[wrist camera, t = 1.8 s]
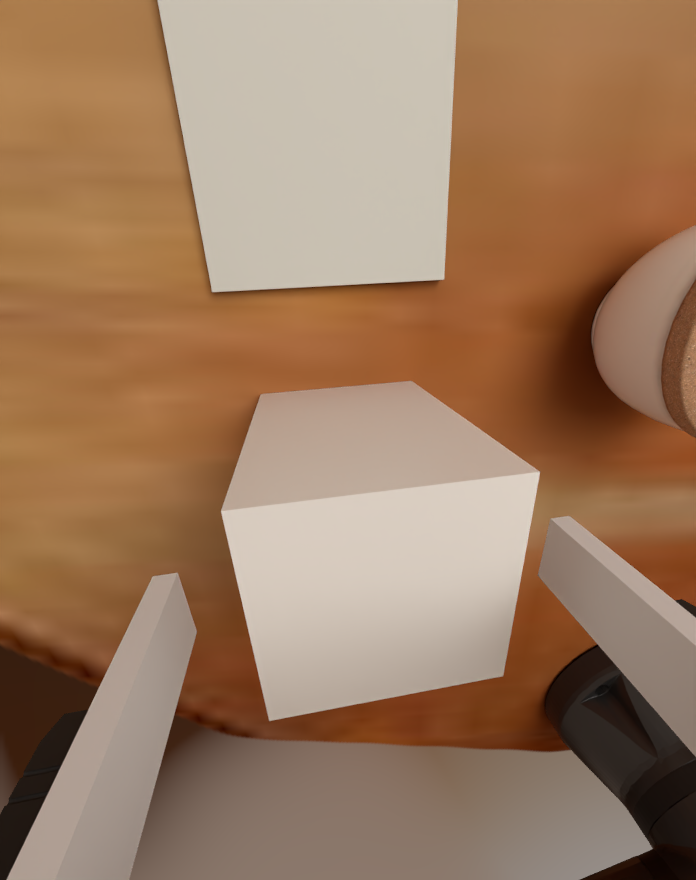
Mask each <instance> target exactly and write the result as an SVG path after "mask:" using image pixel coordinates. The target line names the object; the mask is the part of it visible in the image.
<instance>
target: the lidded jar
mask: <svg viewBox="0 0 696 880" xmlns="http://www.w3.org/2000/svg"><path fill="white" fill-rule="evenodd" d="M591 344H592V349H593V352H594V358H595V363H596V366H597V369H598V371H599V373H600V375H601V377H602V379H603V380H604V382H605V384H606V385H607V387H608V388H609V389H610V390H611V391H612V392H613V393H614V394H615V395H616V396H617V397H618V398H619V399H620V400H621V401H623V402H624V403H626V404H627V405H629V406H630V407H632V408H633V409H635V410H637V411H638V412H640V413H642V414H644V415H646V416H648V417H650V418H651V419H653V420H655V421H658V422H661V423H663V424H666V425H668V426H671V427H674V428H677V429H679V430H682V431H685V432H687V433H688V434H690V435H691V436H693V437H695V438H696V225H695V226H693V227H690V228H688V229H686V230H684V231H682V232H680V233H678V234H676V235H674V236H672V237H671V238H669V239H667V240H665V241H664V242H662V243H660V244H659V245H657V246H656V247H654V248H653V249H652V250H650V251H649V252H647V253H646V254H645V255H644V256H642V257H641V258H640V259H639V260H638V261H637V262H635V263H634V264H633V265H632V266H631V267H630V268H629V269H628V270H627V271H626V272H625V273H624V274H623V275H622V277H621V278H620V279H619V280H618V281H617V283H616V284H615V285H614V286H613V287H612V288H611V290H610V291H609V292H608V293H607V294H606V296H605V297H604V299H603V300H602V302H601V304H600V305H599V307H598V309H597V312H596V314H595V317H594V320H593V324H592V330H591Z"/></svg>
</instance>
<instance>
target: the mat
mask: <svg viewBox="0 0 696 880" xmlns="http://www.w3.org/2000/svg"><path fill="white" fill-rule="evenodd" d="M457 5H458V0H158V6H159V11H160V16H161V22H162V27H163V32H164V38H165V43H166V48H167V54H168V59H169V64H170V69H171V75H172V80H173V85H174V91H175V96H176V101H177V107H178V112H179V117H180V123H181V128H182V133H183V139H184V144H185V149H186V155H187V160H188V165H189V171H190V176H191V181H192V187H193V192H194V197H195V203H196V208H197V213H198V219H199V224H200V229H201V235H202V240H203V245H204V251H205V256H206V261H207V267H208V272H209V277H210V283H211V288H212V292H229V291H247V290H266V289H284V288H303V287H321V286H339V285H358V284H376V283H395V282H413V281H431V280H444V270H445V250H446V230H447V209H448V189H449V168H450V148H451V127H452V107H453V87H454V66H455V46H456V25H457Z"/></svg>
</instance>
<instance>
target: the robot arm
mask: <svg viewBox="0 0 696 880" xmlns="http://www.w3.org/2000/svg"><path fill="white" fill-rule="evenodd" d="M538 576H539V577H540V579H541V580H542V581H543V582H544V583H545V584H546V585H547V587H548V588H549V589H550V590H551V591H552V592H553V594H554V595H555V596H556V597H557V598H558V599H559V600H560V602H561V603H562V604H563V605H564V606H565V607H566V608H567V610H568V611H569V612H570V613H571V614H572V615H573V616H574V618H575V619H576V620H577V621H578V622H579V623H580V625H581V626H582V627H583V628H584V629H585V630H586V631H587V633H588V634H589V635H590V636H591V637H592V638H593V639H594V641H595V642H596V643H597V644H598V645H599V646H598V647H596V648H594V649H592V650H591V651H589V652H587V653H586V654H584V655H583V656H581V657H580V658H578V659H577V660H576V661H574V662H573V663H572V664H571V665H570V666H569V667H567V668H566V669H565V670H564V671H563V672H562V673H561V675H560V676H559V677H558V678H557V679H556V681H555V682H554V684H553V685H552V687H551V689H550V691H549V693H548V695H547V698H546V703H545V710H546V714H547V716H548V718H549V720H550V721H551V723H552V725H553V726H554V728H555V730H556V731H557V733H558V735H559V736H560V738H561V739H562V741H563V742H564V743H565V744H566V745H567V746H568V747H569V748H570V749H571V750H572V751H573V752H574V753H575V754H576V755H577V756H578V758H579V759H580V760H581V761H582V762H583V763H584V764H585V765H586V766H587V767H588V768H589V769H590V770H591V771H592V772H593V773H594V774H595V775H596V776H597V777H598V778H599V779H600V780H601V781H602V782H603V784H604V785H605V786H606V787H608V789H609V790H610V791H611V792H612V793H613V794H614V795H615V796H616V797H617V798H618V799H619V800H620V801H621V802H622V803H623V804H624V806H625V807H626V808H627V810H628V811H629V812H630V814H631V815H632V817H633V818H634V820H635V821H636V823H637V824H638V826H639V828H640V829H641V830H642V832H643V834H644V835H645V837H646V838H647V840H648V841H649V843H650V845H651V846H652V848H653V849H652V850H650V851H648V852H645V853H643V854H641V855H639V856H635V857H632V858H630V859H628V860H626V861H623V862H621V863H618V864H616V865H613V866H611V867H609V868H606V869H604V870H602V871H599V872H597V873H594V874H592V875H590V876H587V877H585V878H583V879H580V880H696V607H695V606H693V605H691V604H690V603H688V602H686V601H684V600H682V599H681V600H675V601H674V600H673V599H672V598H671V597H669V596H668V595H667V594H666V593H664V592H663V591H662V590H661V589H660V588H658V587H657V586H656V585H655V584H653V583H652V582H651V581H650V580H648V579H647V578H646V577H645V576H643V575H642V574H641V573H640V572H638V571H637V570H636V569H635V568H633V567H632V566H631V565H630V564H628V563H627V562H626V561H625V560H624V559H622V558H621V557H620V556H619V555H617V554H616V553H615V552H614V551H612V550H611V549H610V548H609V547H607V546H606V545H605V544H604V543H602V542H601V541H600V540H599V539H597V538H596V537H595V536H594V535H592V534H591V533H590V532H589V531H587V530H586V529H585V528H584V527H583V526H581V525H580V524H579V523H578V522H576V521H575V520H574V519H573V518H571V517H570V516H565V517H559V518H552V519H550V523H549V527H548V532H547V536H546V541H545V545H544V550H543V554H542V559H541V564H540V568H539V573H538ZM196 633H197V631H196V628H195V625H194V621H193V618H192V615H191V612H190V609H189V606H188V603H187V600H186V597H185V594H184V591H183V587H182V584H181V581H180V578H179V575H178V573H172V574H166V575H159V576H153V577H152V579H151V581H150V583H149V585H148V587H147V589H146V591H145V593H144V596H143V598H142V600H141V602H140V604H139V606H138V608H137V610H136V612H135V614H134V616H133V618H132V620H131V623H130V625H129V627H128V629H127V631H126V633H125V635H124V637H123V639H122V641H121V643H120V645H119V647H118V650H117V652H116V654H115V656H114V658H113V660H112V662H111V664H110V666H109V668H108V670H107V672H106V674H105V676H104V679H103V681H102V683H101V685H100V687H99V689H98V691H97V693H96V695H95V697H94V699H93V701H92V703H91V706H90V708H89V710H84V711H78V712H73V713H68V714H64V715H63V716H62V717H61V719H60V720H59V721H58V722H57V723H56V724H55V725H54V727H53V728H52V729H51V730H50V731H49V732H48V734H47V735H46V736H45V737H44V738H43V739H42V740H41V742H40V744H39V745H38V747H37V749H36V751H35V753H34V755H33V756H32V758H31V760H30V762H29V764H28V765H27V767H26V769H25V771H24V775H23V777H22V778H21V779H20V780H19V781H18V783H17V785H16V787H15V789H14V791H13V792H12V794H11V796H10V798H9V803H8V804H7V806H5V807H4V808H3V810H2V812H1V814H0V880H129V877H130V874H131V870H132V867H133V863H134V859H135V856H136V852H137V849H138V845H139V841H140V837H141V834H142V830H143V827H144V823H145V819H146V816H147V812H148V808H149V805H150V801H151V797H152V794H153V790H154V786H155V783H156V779H157V775H158V772H159V768H160V765H161V761H162V757H163V754H164V750H165V746H166V742H167V739H168V735H169V732H170V728H171V725H172V720H173V717H174V714H175V710H176V706H177V703H178V699H179V695H180V692H181V688H182V684H183V681H184V677H185V673H186V670H187V666H188V662H189V659H190V655H191V652H192V648H193V644H194V641H195V637H196Z"/></svg>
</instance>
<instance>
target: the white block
mask: <svg viewBox="0 0 696 880" xmlns="http://www.w3.org/2000/svg"><path fill="white" fill-rule="evenodd" d="M539 475H540V471H538V470H537V469H535V468H534V467H533V466H531V465H530V464H528V463H527V462H525V461H524V460H523V459H521V458H520V457H518V456H517V455H516V454H514V453H513V452H511V451H510V450H508V449H507V448H506V447H504V446H503V445H501V444H500V443H499V442H497V441H496V440H494V439H493V438H491V437H490V436H489V435H487V434H486V433H484V432H483V431H482V430H480V429H479V428H477V427H476V426H475V425H473V424H472V423H470V422H469V421H467V420H466V419H465V418H463V417H462V416H460V415H459V414H458V413H456V412H455V411H453V410H452V409H450V408H449V407H448V406H446V405H445V404H443V403H442V402H441V401H439V400H438V399H436V398H435V397H434V396H432V395H431V394H429V393H428V392H426V391H425V390H424V389H422V388H421V387H419V386H418V385H417V384H415V383H414V382H412V381H405V382H394V383H383V384H371V385H360V386H348V387H337V388H326V389H314V390H303V391H291V392H280V393H268V394H261V395H260V398H259V401H258V404H257V407H256V410H255V412H254V415H253V418H252V421H251V424H250V427H249V430H248V433H247V436H246V439H245V442H244V445H243V448H242V451H241V454H240V457H239V460H238V463H237V465H236V468H235V471H234V474H233V477H232V480H231V483H230V486H229V489H228V492H227V495H226V498H225V501H224V504H223V507H222V510H221V513H222V518H223V522H224V526H225V531H226V535H227V539H228V544H229V548H230V552H231V557H232V561H233V566H234V570H235V574H236V579H237V583H238V587H239V592H240V596H241V600H242V605H243V609H244V613H245V618H246V622H247V626H248V631H249V635H250V639H251V644H252V648H253V652H254V657H255V661H256V665H257V670H258V674H259V678H260V683H261V687H262V691H263V696H264V700H265V704H266V709H267V713H268V718H269V721H272V720H277V719H282V718H287V717H293V716H298V715H303V714H308V713H314V712H319V711H324V710H329V709H334V708H340V707H345V706H350V705H355V704H360V703H366V702H371V701H376V700H381V699H386V698H392V697H397V696H402V695H407V694H412V693H418V692H423V691H428V690H433V689H439V688H444V687H449V686H454V685H459V684H465V683H470V682H475V681H480V680H485V679H491V678H496V677H501V676H503V674H504V668H505V663H506V657H507V652H508V646H509V641H510V635H511V630H512V624H513V619H514V613H515V608H516V602H517V596H518V591H519V585H520V580H521V574H522V569H523V563H524V558H525V552H526V547H527V541H528V536H529V530H530V525H531V519H532V514H533V508H534V503H535V497H536V492H537V486H538V481H539Z"/></svg>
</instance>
